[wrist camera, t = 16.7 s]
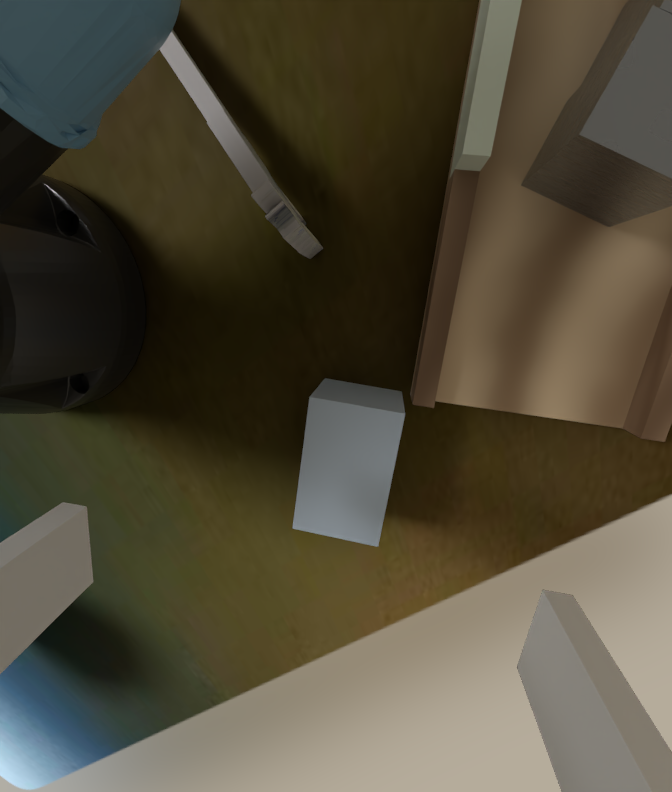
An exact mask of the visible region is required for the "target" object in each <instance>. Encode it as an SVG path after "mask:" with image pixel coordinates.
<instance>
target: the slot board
mask: <svg viewBox="0 0 672 792" xmlns="http://www.w3.org/2000/svg"><path fill="white" fill-rule="evenodd" d="M627 1H628V0H522V2H521V7H520V12H519V17H518V22H517V27H516V32H515V37H514V42H513V47H512V52H511V57H510V62H509V67H508V72H507V77H506V82H505V87H504V92H503V97H502V102H501V107H500V112H499V117H498V122H497V127H496V132H495V137H494V142H493V147H492V152H491V157H490V158H489V159H488V161H487V162H486V164H485V165H484V166H483V168H482V169H481V171H471V170H459V169H455V170H454V171H453V173H452V175H451V177H450V173H451V167H452V162H453V156H454V150H455V145H456V139H457V133H458V128H459V122H460V116H461V111H462V105H463V99H464V94H465V88H466V82H467V77H468V71H469V65H470V60H471V54H472V48H473V43H474V37H475V31H476V26H477V20H478V14H479V9H480V3H481V0H479V5H478V10H477V16H476V22H475V27H474V33H473V39H472V44H471V50H470V56H469V62H468V67H467V73H466V79H465V84H464V90H463V96H462V101H461V107H460V113H459V119H458V124H457V130H456V136H455V141H454V147H453V153H452V158H451V164H450V170H449V176H448V181H447V187H446V193H445V198H444V204H443V210H442V215H441V221H440V227H439V233H438V238H437V244H436V250H435V255H434V261H433V267H432V272H431V278H430V284H429V289H428V295H427V301H426V307H425V312H424V318H423V324H422V329H421V335H420V341H419V346H418V352H417V358H416V364H415V369H414V375H413V381H412V386H411V392H410V396H411V400H412V404H413V405H418V406H424V407H431V408H434V404H435V401H437V402H444V403H451V404H458V405H464V406H471V407H478V408H485V409H492V410H499V411H506V412H513V413H519V414H526V415H533V416H540V417H547V418H554V419H561V420H567V421H574V422H581V423H588V424H595V425H602V426H609V427H616V428H622V429H624V430H626V431H628V432H630V433H632V434H634V435H635V436H637V437H639V438H641V439H648V440H655V441H662V442H665V440H666V437H667V435H668V432H669V429H670V427H671V424H672V206H671V207H668V208H665V209H662V210H659V211H656V212H653V213H650V214H647V215H644V216H641V217H638V218H635V219H632V220H629V221H626V222H623V223H620V224H617V225H614V226H611V227H607V226H605V225H603V224H601V223H599V222H597V221H594V220H592V219H590V218H588V217H586V216H584V215H582V214H580V213H578V212H576V211H574V210H571V209H569V208H567V207H565V206H563V205H561V204H559V203H557V202H555V201H553V200H551V199H549V198H546V197H544V196H542V195H540V194H538V193H536V192H534V191H532V190H530V189H528V188H526V187H523V186H521V184H522V182H523V180H524V179H525V177H526V175H527V173H528V171H529V169H530V168H531V166H532V164H533V162H534V160H535V159H536V157H537V155H538V153H539V151H540V149H541V148H542V146H543V144H544V142H545V140H546V138H547V137H548V135H549V133H550V131H551V129H552V127H553V126H554V124H555V122H556V120H557V118H558V117H559V115H560V113H561V111H562V109H563V107H564V106H565V104H566V102H567V100H568V99H569V98H570V97H571V96H572V95H573V94H574V93H575V91H576V90H577V89H578V88H579V87H580V86H581V84H582V83H583V81H584V79H585V77H586V75H587V73H588V71H589V70H590V68H591V66H592V64H593V62H594V60H595V58H596V56H597V55H598V53H599V51H600V49H601V47H602V45H603V43H604V42H605V40H606V38H607V36H608V34H609V32H610V30H611V29H612V27H613V25H614V23H615V21H616V19H617V17H618V16H619V14H620V12H621V10H622V8H623V6H624V5H625V4H626V3H627Z"/></svg>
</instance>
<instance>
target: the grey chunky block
mask: <svg viewBox="0 0 672 792" xmlns="http://www.w3.org/2000/svg"><path fill="white" fill-rule="evenodd" d="M653 5H654V6H656V7H658V8H660V9H662V10H664V11H666V12H669V13H671V14H672V0H628V1H627V3H626V4H625V5H624V6H623V8H622V10H621V12H620V14H619V16H618V17H617V19H616V21H615V23H614V25H613V27H612V29H611V30H610V32H609V34H608V36H607V38H606V40H605V42H604V43H603V45H602V47H601V49H600V51H599V53H598V55H597V56H596V58H595V60H594V62H593V64H592V66H591V68H590V70H589V71H588V73H587V75H586V77H585V79H584V81H585V80H586V79H587V78H588V77H589V76H590V75H591V74H592V72H593V71H594V70H595V69H596V68H597V67H598V66H599V65H600V64H601V62H602V61H603V60H604V59H605V58H606V57H607V56H608V55H609V54H610V52H611V51H612V50H613V49H614V48H615V47H616V46H617V45H618V43H619V42H620V41H621V40H622V39H623V38H624V37H625V36H626V35H627V33H628V32H629V31H630V30H631V29H632V28H633V27H634V26H635V25H636V23H637V22H638V21H639V20H640V19H641V18H642V17H643V16H644V14H645V13H646V12H647V11H648V10H649V9H650V8H651V7H652V6H653ZM584 81H583V83H584ZM583 83H582V84H583ZM582 84H581V85H582Z"/></svg>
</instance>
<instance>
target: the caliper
mask: <svg viewBox="0 0 672 792" xmlns="http://www.w3.org/2000/svg"><path fill="white" fill-rule="evenodd" d="M160 51H161V52H162V54H163V55H164V57H165V58H166V60H167V61H168V63H169V64H170V66H171V67H172V69H173V70H174V72H175V73H176V75H177V76H178V78H179V79H180V81H181V82H182V84H183V85H184V87H185V88H186V90H187V91H188V93H189V94H190V96H191V98H192V99H193V101H194V102H195V104H196V105H197V107H198V108H199V110H200V111H201V113H202V114H203V116H204V117H205V119H206V120H207V124H208V125H209V127H210V128H211V130H212V131H213V133H214V134H215V136H216V137H217V139H218V140H219V142H220V143H221V145H222V147H223V148H224V150H225V151H226V153H227V154H228V156H229V157H230V159H231V160H232V162H233V163H234V165H235V166H236V168H237V169H238V171H239V172H240V174H241V175H242V177H243V178H244V180H245V181H246V183H247V184H248V186H249V187H250V189H251V190H252V192H253V193H252V194H251V196H252V197H253V199H254V200H255V201H256V202H257V203H258V205H259V206H260V207H261V208H262V209H263V210H264V212H265V213H266V214H267V215H265V217H266V219H267V220H268V221H269V222H271V223H272V224H273V225H274V226H275V227H276V228H277V229H278V231H279V232H280V234H281V235H282V237H283V238H284V239H285V240H286V241H287V242H288V243H289V244H290V245H291V246H292V247H293V248H295V249H296V250H297V251H298V252H299V253H300V254H302V255H303V256H305V257H307V258H309V259H311V258H312V257H314V256H315V255H316V254H317V253H318V252H320V251H321V250H322V249H323V247H322V245H321V244H320V242H319V241H318V240H317V239H316V238H315V237H314V236H313V234H312V233H311V232H310V231H309V230H308V229H307V227H306V226H305V225H306V224H307V223H306V222H305V220H304V219H303V217H302V216H301V215H300V213H299V212H298V211H297V210H296V208H295V207H294V206H293V205H292V203H291V202H290V201H289V199H288V198H287V197H286V196H285V194H284V193H283V192H282V190H281V189H280V188H279V187H278V185H277V184H276V182H275V181H274V179H273V178H272V176H271V175H270V173H269V171H268V170H267V168H266V167H265V165H264V163H263V162H262V160H261V159H260V158H259V156H258V155H257V153H256V152H255V150H254V149H253V147H252V145H251V144H250V142H249V141H248V140H247V138H246V137H245V136H244V135H243V133H242V132H241V131H240V129H239V128H238V126H237V125H236V123H235V122H234V120H233V119H232V117H231V116H230V114H229V113H228V111H227V110H226V108H225V107H224V105H223V104H222V102H221V101H220V99H219V98H218V96H217V95H216V93H215V92H214V90H213V89H212V87H211V86H210V84H209V83H208V81H207V80H206V78H205V77H204V75H203V74H202V72H201V71H200V69H199V68H198V66H197V65H196V63H195V62H194V61H193V59H192V58H191V56H190V55H189V53H188V52H187V50H186V49H185V47H184V46H183V44H182V43H181V41H180V40H179V38H178V37H177V35H176V34H175V32H174V31H173V29H172V31H171V33H170V35H169V36H168V38H167V40H166V41H165V43H164V44H163V45H162V47H161V48H160Z"/></svg>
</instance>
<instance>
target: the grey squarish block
mask: <svg viewBox="0 0 672 792" xmlns="http://www.w3.org/2000/svg"><path fill="white" fill-rule="evenodd" d="M521 186H523V187H526V188H528V189H530V190H532V191H534V192H536V193H538V194H540V195H542V196H544V197H546V198H549V199H551V200H553V201H555V202H557V203H559V204H561V205H563V206H565V207H567V208H569V209H571V210H574V211H576V212H578V213H580V214H582V215H584V216H586V217H588V218H590V219H592V220H594V221H597V222H599V223H601V224H603V225H605V226H607V227H611V226H614V225H617V224H620V223H623V222H626V221H629V220H632V219H635V218H638V217H641V216H644V215H647V214H650V213H653V212H656V211H659V210H662V209H665V208H668V207H671V206H672V14H671V13H669V12H666V11H664V10H662V9H660V8H658V7H656V6H654V5H653V6H652V7H651V8H650V9H649V10H648V11H647V12H646V13H645V14H644V16H643V17H642V18H641V19H640V20H639V21H638V22H637V23H636V25H635V26H634V27H633V28H632V29H631V30H630V31H629V32H628V33H627V35H626V36H625V37H624V38H623V39H622V40H621V41H620V42H619V43H618V45H617V46H616V47H615V48H614V49H613V50H612V51H611V52H610V54H609V55H608V56H607V57H606V58H605V59H604V60H603V61H602V62H601V64H600V65H599V66H598V67H597V68H596V69H595V70H594V71H593V72H592V74H591V75H590V76H589V77H588V78H587V79H586V80H585V81H584V83H583V84H582V85H581V86H580V87H579V88H578V89H577V90H576V91H575V93H574V94H573V95H572V96H571V97H570V98H569V99H568V100H567V102H566V104H565V106H564V107H563V109H562V111H561V113H560V115H559V117H558V118H557V120H556V122H555V124H554V126H553V127H552V129H551V131H550V133H549V135H548V137H547V138H546V140H545V142H544V144H543V146H542V148H541V149H540V151H539V153H538V155H537V157H536V159H535V160H534V162H533V164H532V166H531V168H530V169H529V171H528V173H527V175H526V177H525V179H524V180H523V182H522V184H521Z"/></svg>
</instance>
